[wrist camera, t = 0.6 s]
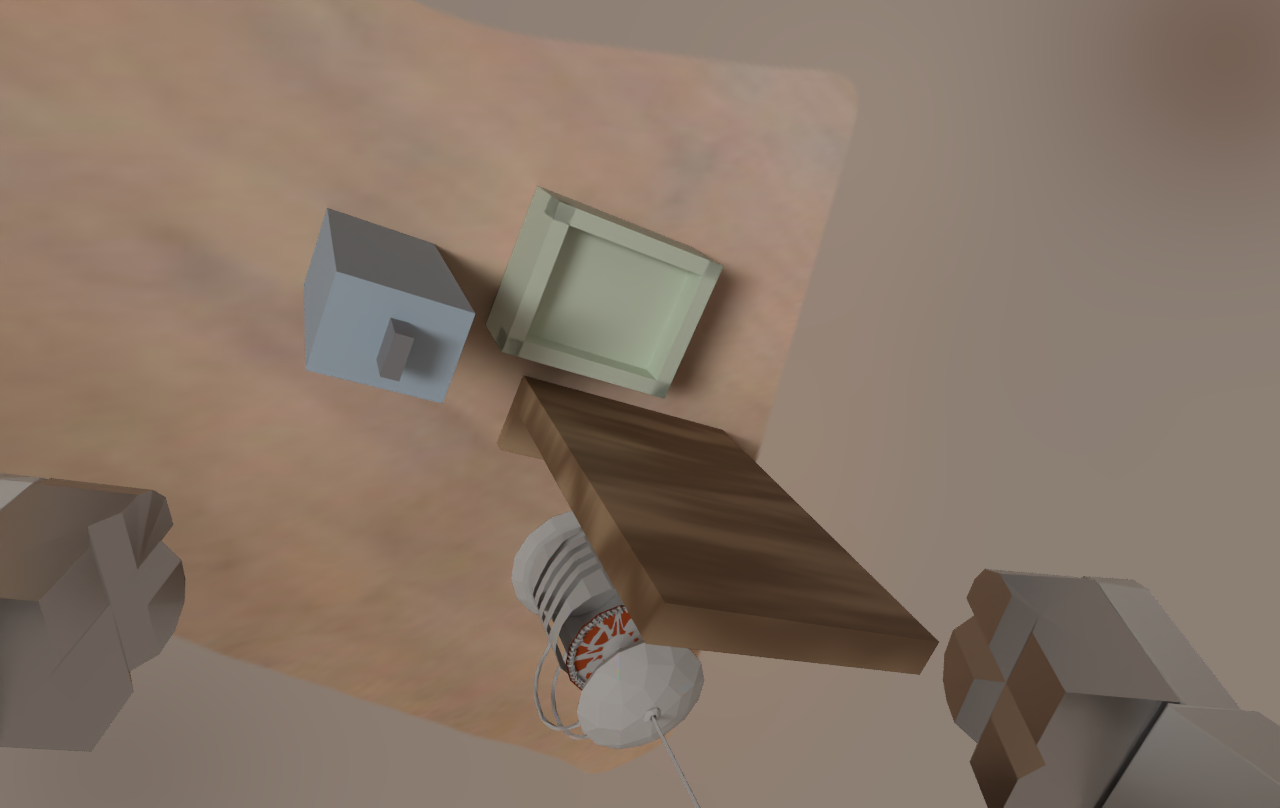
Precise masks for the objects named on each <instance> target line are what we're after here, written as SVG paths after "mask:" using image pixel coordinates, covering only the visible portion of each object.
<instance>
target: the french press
mask: <svg viewBox="0 0 1280 808" xmlns="http://www.w3.org/2000/svg"><path fill="white" fill-rule="evenodd" d="M511 580H512V584H513V587H514V590H515V593H516V596H517V599H518V600H519V601H520V602H521V603H522V604H523V605H524V606H525V607H527V608H528V609H529V610H530V611H531V612H532V613H534V614H537V615H539V616H540V618H541V621H542V624H543V626H544V629H545V632H546V634H547V637H548V640H549V641H548V645H547V647H546V649H545V651H544V653H543V655H542V657H541V659H540V661H539V664H538V667H537V670H536V673H535V680H534V701H535V704H536V707H537V710H538V713H539V716H540V719H541V720H542V721H543V722H544V723H545V724H546V725H547V726H548V727H550V728H551V729H553V730H563V731H564V733H566V734H567V735H568V736H570V737H571V738H572V739H587V738H590V739H591V740H592V741H594V742H595V743H596V744H597V745H601V746H606V747H610V748H614V749H623V748H629V747H636V746H642V745H644V744H647V743H649V742H652V741H655V740H657V739H659V738H660V737H661V739H662V741H663V743H664V745H665V747H666V749H667V751H668V753H669V755H670V757H671V759H672V760H673V763H674V765H675V767H676V769H677V771H678V773H679V775H680V777H681V779H682V781H683V782H684V785H685V787H686V789H687V791H688V793H689V795H690V797H691V799H692V801H693V803H694V805H695V807H696V808H700V806H699V804H698V802H697V801H696V798H695V797H694V795H693V793H692V791H691V789H690V787H689V785H688V783H687V781H686V779H685V777H684V775H683V773H682V771H681V769H680V767H679V765H678V763H677V761H676V759H675V757H674V755H673V753H672V751H671V749H670V747H669V745H668V743H667V741H666V739H665V737H664V735H665V734H667V733H668V732H669V731H670V730H672V729H673V728H674V727H675V726H677V725H678V724H679V723H680V722H682V721H683V720H684V719H685V718H686V716H687V715H688V714H689V712H690V711H691V709H692V708H693V707H694V705H695V704H696V703H697V701H698V699H699V696H700V693H701V690H702V686H703V683H704V676H703V671H702V666H701V662H700V661H699V659H698V658H697V657H696V656H695V655H694V654H693V653H692V651H691V650H690V649H687V648H678V647H669V646H660V645H651V644H645V642H644V640H643V638H642V636H641V635H640V633H639V631H638V629H637V627H636V626H635V624H634V622H633V620H632V618H631V616H630V615H629V613H628V611H627V609H626V607H625V606H624V604H623V602H622V600H621V598H620V597H619V595H618V593H617V591H616V589H615V587H614V586H613V584H612V582H611V580H610V578H609V577H608V575H607V573H606V571H605V569H604V568H603V566H602V564H601V562H600V560H599V558H598V557H597V555H596V553H595V551H594V549H593V548H592V546H591V544H590V542H589V540H588V539H587V537H586V535H585V533H584V531H583V529H582V528H581V526H580V524H579V522H578V520H577V519H576V517H575V515H574V513H573V511H569V512H566V513H564V514H561V515H558V516H555V517H553V518H550V519H549V520H547V521H546V522H545V523H544V524H542V525H541V526H540V527H538V528H537V529H536V530H535V531H533V532H532V533H531V534H530V535H528V537H527V539H526V540H525V542H524V543H523V545H522V546H521V548H520V550H519V551H518V553H517V554H516V556H515V559H514V565H513V571H512V577H511ZM550 619H553V622H554V624H553V626H552V628H550V626H549V621H550ZM558 635H559V636H560V638H561V641H562V643H563V645H564V648H565V653H564V655H563V657H562V655H561V653H560V650H559V648H558V646H557V643H556V641H557V638H558ZM551 646H552V648H553V651H554V653H555V656H556V658H557V661H558V663H559V666H558V668H557V670H556V673H555V677H554V680H553V684H552V693H551V701H552V711H553V714H554V716H555V719H556V721H557V724H558V726H555V725H554V724H552V723H551V722H549V721H548V720H547V719H546V717H545V716H544V715H543V713H542V709H541V706H540V702H539V698H538V677H539V674H540V670H541V667H542V664H543V662H544V660H545V658H546V656H547V653H548V651H549V649H550V647H551ZM566 658H567V660H566ZM565 660H566V665H565V663H564V662H565ZM561 668H562V669H563V670H564V671H565V672H567V673H568V675H569V678H570V681H571V682H573V683H574V684H575V685H576V686H577V687H578V688H579V689H580V690H582V693H581V697H580V701H579V705H578V707H577V715H578V718H579V721H578V722H576V723H574V724H572V725H569V726H567V727H564V726H563V725H562V723H561V721H560V718H559V716H558V713H557V711H556V703H555V684H556V681H557V678H558V674H559V671H560V669H561ZM579 725H581V728H582V731H583V733H584V734H585V735H574V734H572V733H571V732H569V731H568V730H570V729H573V728H576V727H579Z"/></svg>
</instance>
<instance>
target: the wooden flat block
mask: <svg viewBox="0 0 1280 808" xmlns="http://www.w3.org/2000/svg"><path fill="white" fill-rule="evenodd" d="M497 444H498V447H499V449H500V450H503V451H507V452H512V453H516V454H521V455H525V456H530V457H534V458H539V459H543V460H544V461H545V462H546V464H547V466H548V468H549V470H550V472H551V473H552V475H553V477H554V479H555V481H556V482H557V484H558V486H559V488H560V490H561V491H562V493H563V495H564V497H565V499H566V501H567V502H568V504H569V506H570V508H571V510H572V511H573V513H574V515H575V517H576V519H577V520H578V522H579V524H580V526H581V528H582V529H583V531H584V533H585V535H586V537H587V539H588V540H589V542H590V544H591V546H592V548H593V549H594V551H595V553H596V555H597V557H598V558H599V560H600V562H601V564H602V566H603V568H604V569H605V571H606V573H607V575H608V577H609V578H610V580H611V582H612V584H613V586H614V587H615V589H616V591H617V593H618V595H619V597H620V598H621V600H622V602H623V604H624V606H625V607H626V609H627V611H628V613H629V615H630V616H631V618H632V620H633V622H634V624H635V626H636V627H637V629H638V631H639V633H640V635H641V636H642V638H643V640H644V642H645V644H651V645H660V646H669V647H678V648H687V649H696V650H704V651H713V652H723V653H732V654H740V655H749V656H758V657H767V658H776V659H785V660H793V661H803V662H811V663H820V664H830V665H838V666H847V667H856V668H865V669H874V670H882V671H891V672H901V673H909V674H918V675H920V673H921V671H922V670H923V668H924V667H925V665H926V663H927V661H928V660H929V658H930V656H931V655H932V653H933V652H934V650H935V648H936V647H937V645H938V643H939V641H937V639H936V638H935V637H933V636H932V635H931V633H929V632H928V631H927V630H926V629H925V628H924V627H923V626H922V625H921V624H920V623H919V622H918V621H917V620H916V619H915V618H914V617H913V616H912V615H911V614H910V613H909V612H908V611H907V610H906V609H905V608H904V607H903V606H902V605H901V604H900V603H899V602H898V601H897V600H896V599H895V598H894V597H893V596H892V595H891V594H890V593H889V592H887V590H886V589H884V588H883V587H882V586H881V585H880V584H879V583H878V582H877V581H876V580H875V579H874V578H873V577H872V576H871V575H870V574H869V573H868V572H867V571H866V570H865V569H864V568H863V567H862V566H861V565H860V564H859V563H858V562H857V561H856V560H855V559H854V558H853V557H852V556H851V555H850V554H849V553H847V551H846V550H845V549H843V548H842V547H841V546H840V545H839V544H838V543H837V542H836V541H835V540H834V539H833V538H832V537H831V536H830V535H829V534H828V533H827V532H826V531H825V530H824V529H823V528H822V527H821V526H820V525H819V524H818V523H817V522H816V521H815V520H814V519H813V518H812V517H811V516H810V515H809V514H808V513H807V512H806V511H804V509H803V508H802V507H801V506H799V504H797V503H796V502H795V501H794V500H793V499H792V498H791V497H790V496H789V495H788V494H787V493H786V492H785V491H784V490H783V489H782V488H781V487H780V486H779V485H778V484H777V483H776V482H775V481H774V480H773V479H772V478H771V477H770V476H769V475H768V474H767V473H766V472H765V471H764V470H763V469H762V468H761V467H760V466H759V465H758V464H757V463H756V462H755V461H754V460H753V459H751V458H750V457H749V456H748V455H747V454H746V453H745V452H744V451H743V450H742V449H741V448H740V447H739V446H738V445H737V444H736V443H735V442H734V441H733V440H732V439H731V438H730V437H729V436H728V435H727V434H726V433H725V432H724V431H723V430H720V429H717V428H713V427H709V426H706V425H702V424H699V423H695V422H691V421H688V420H684V419H680V418H677V417H673V416H669V415H666V414H662V413H658V412H655V411H651V410H647V409H644V408H640V407H636V406H633V405H629V404H626V403H622V402H618V401H615V400H611V399H607V398H604V397H600V396H596V395H593V394H589V393H585V392H582V391H578V390H574V389H571V388H567V387H563V386H560V385H556V384H552V383H549V382H545V381H542V380H538V379H534V378H531V377H527V376H523V378H522V380H521V383H520V385H519V388H518V391H517V393H516V396H515V398H514V401H513V403H512V406H511V408H510V411H509V413H508V416H507V419H506V421H505V424H504V426H503V429H502V431H501V434H500V436H499V439H498V441H497Z"/></svg>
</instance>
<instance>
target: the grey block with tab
mask: <svg viewBox="0 0 1280 808" xmlns="http://www.w3.org/2000/svg"><path fill="white" fill-rule="evenodd" d="M304 310H305V366H306V370H308V371H312V372H316V373H320V374H324V375H328V376H332V377H336V378H340V379H344V380H349V381H353V382H357V383H361V384H365V385H369V386H373V387H377V388H381V389H385V390H390V391H394V392H398V393H402V394H406V395H410V396H414V397H418V398H422V399H426V400H431V401H435V402H439V403H443V401H444V398H445V395H446V393H447V390H448V387H449V385H450V382H451V379H452V376H453V374H454V371H455V368H456V365H457V363H458V360H459V357H460V355H461V352H462V349H463V346H464V344H465V341H466V338H467V336H468V333H469V330H470V327H471V325H472V322H473V319H474V316H475V312H474V310H473V309H472V307H471V305H470V303H469V302H468V300H467V298H466V297H465V295H464V293H463V292H462V290H461V288H460V287H459V285H458V283H457V282H456V280H455V278H454V277H453V275H452V273H451V271H450V270H449V268H448V266H447V265H446V263H445V261H444V260H443V258H442V256H441V255H440V253H439V251H438V250H437V248H436V246H435V245H434V244H432V243H430V242H427V241H424V240H421V239H418V238H415V237H412V236H409V235H406V234H403V233H400V232H397V231H394V230H391V229H388V228H385V227H382V226H379V225H376V224H373V223H370V222H367V221H364V220H361V219H359V218H356V217H353V216H350V215H347V214H344V213H341V212H338V211H335V210H332V209H329V208H327V210H326V214H325V217H324V220H323V223H322V227H321V230H320V233H319V237H318V240H317V243H316V246H315V250H314V253H313V256H312V260H311V263H310V266H309V270H308V273H307V276H306V279H305V283H304Z"/></svg>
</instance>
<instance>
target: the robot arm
mask: <svg viewBox="0 0 1280 808" xmlns="http://www.w3.org/2000/svg"><path fill="white" fill-rule="evenodd" d="M172 526H173V522H172V518H171V514H170V511H169V507H168V504H167V500H166V497H164V496H162V495H161V494H159V493H157V492H155V491H154V490H149V489H141V488H132V487H123V486H115V485H106V484H98V483H89V482H81V481H72V480H63V479H55V478H49V479H45V478H40V477H31V476H22V475H13V474H4V473H0V747H14V748H32V749H51V750H70V751H72V750H73V751H89V752H90V751H92V750H93V749H94V747H95V746H96V744H97V743H98V741H99V740H100V739H101V737H102V736H103V734H104V733H105V731H106V730H107V729H108V727H109V726H110V724H111V723H112V721H113V720H114V719H115V717H116V716H117V714H118V713H119V711H120V710H121V709H122V707H123V706H124V704H125V703H126V701H127V700H128V699H129V697H130V696H131V694H132V693H133V686H132V680H131V675H130V671H131V670H133V669H134V668H136V667H138V666H140V665H142V664H143V663H145V662H147V661H148V660H150V659H152V658H154V657H155V656H157V655H159V654H160V652H161V651H162V649H163V648H164V646H165V645H166V643H167V642H168V640H169V639H170V637H171V636H172V634H173V633H174V631H175V629H176V626H177V623H178V620H179V617H180V614H181V611H182V608H183V605H184V599H185V575H184V571H183V566H182V561H181V559H180V558H179V557H178V556H177V555H176V554H175V553H174V552H173V551H172V550H171V549H170V548H169V547H167V546H166V545H165V544H164V543H163V542H162V541H161V540H162V539H163V538H164V536H165V535H166V534H167V532H168V531H169V530H170V528H171V527H172ZM967 600H968V602H969V605H970V607H971V609H972V611H973V613H974V616H973V617H972V618H970V619H968V620H967V621H966V622H964V623H963V624H961V625H960V626H958V627H957V628H956V629H954V630H953V632H952V635H951V638H950V640H949V643H948V646H947V649H946V651H945V654H944V672H943V683H944V689H945V694H946V700H947V703H948V706H949V709H950V711H951V714H952V717H953V720H954V722H955V723H956V724H957V725H958V726H959V727H960V728H961V729H962V730H963V731H964V732H966V734H968V735H969V736H970V737H971V738H972V739H973V740H974V741H975V742H976V743H977V745H976V748H975V750H974V753H973V755H972V757H971V760H970V764H971V766H972V769H973V772H974V774H975V777H976V779H977V782H978V784H979V787H980V789H981V792H982V794H983V797H984V799H985V802H986V804H987V807H988V808H1280V726H1279V725H1277V724H1276V723H1274V722H1273V721H1271V720H1270V719H1268V718H1267V717H1265V716H1264V715H1262V714H1261V713H1259V712H1255V711H1245V710H1241V709H1240V707H1239V706H1238V705H1237V704H1236V702H1235V701H1234V700H1233V698H1232V697H1231V696H1230V695H1229V693H1228V692H1227V691H1226V689H1225V688H1224V687H1223V686H1222V684H1221V683H1220V682H1219V680H1218V679H1217V678H1216V676H1215V675H1214V674H1213V672H1212V671H1211V670H1210V669H1209V667H1208V666H1207V665H1206V664H1205V662H1204V661H1203V660H1202V658H1201V657H1200V656H1199V654H1198V653H1197V652H1196V651H1195V649H1194V648H1193V647H1192V645H1191V644H1190V643H1189V641H1188V640H1187V639H1186V638H1185V636H1184V635H1183V634H1182V633H1181V631H1180V630H1179V628H1178V627H1177V626H1176V625H1175V623H1174V622H1173V621H1172V620H1171V618H1170V617H1169V616H1168V614H1167V613H1166V612H1165V610H1164V609H1163V608H1162V606H1161V605H1160V604H1159V603H1158V601H1157V600H1156V599H1155V597H1154V596H1153V595H1152V594H1151V592H1150V591H1149V590H1148V589H1147V588H1145V587H1144V586H1142V585H1141V584H1139V583H1138V582H1136V581H1134V580H1128V579H1114V578H1099V577H1085V576H1084V577H1081V578H1079V577H1070V576H1059V575H1048V574H1036V573H1025V572H1014V571H1003V570H991V569H984V570H983V571H982V572H981V573H980V574H979V575H978V577H976V578H975V580H974V582H973V584H972V587H971V589H970V591H969V593H968V596H967Z"/></svg>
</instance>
